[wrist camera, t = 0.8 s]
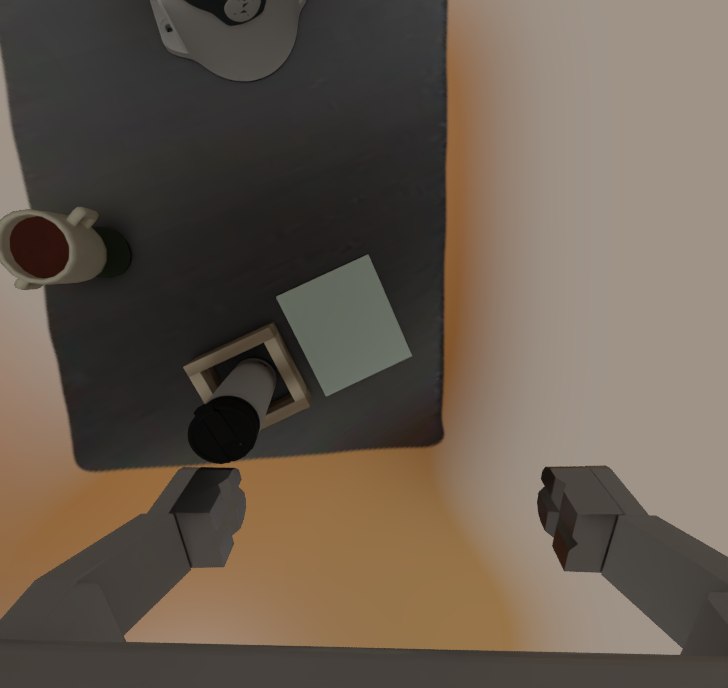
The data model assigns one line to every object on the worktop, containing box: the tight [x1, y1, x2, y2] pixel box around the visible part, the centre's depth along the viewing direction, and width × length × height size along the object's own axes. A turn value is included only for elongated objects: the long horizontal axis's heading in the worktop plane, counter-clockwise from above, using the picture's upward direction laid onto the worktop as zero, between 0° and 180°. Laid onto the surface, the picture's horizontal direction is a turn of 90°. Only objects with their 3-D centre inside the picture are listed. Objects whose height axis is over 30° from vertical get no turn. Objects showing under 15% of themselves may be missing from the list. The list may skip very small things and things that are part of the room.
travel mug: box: [188, 357, 277, 464], centre depth 44 cm, size 6×7×20 cm
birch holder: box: [183, 322, 311, 430], centre depth 52 cm, size 12×12×5 cm
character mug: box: [0, 207, 131, 290], centre depth 42 cm, size 11×7×13 cm, turn 137°
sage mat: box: [276, 255, 412, 396], centre depth 54 cm, size 16×14×1 cm
